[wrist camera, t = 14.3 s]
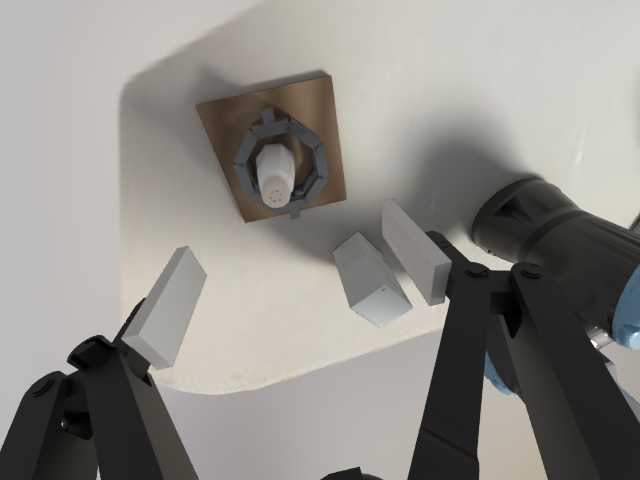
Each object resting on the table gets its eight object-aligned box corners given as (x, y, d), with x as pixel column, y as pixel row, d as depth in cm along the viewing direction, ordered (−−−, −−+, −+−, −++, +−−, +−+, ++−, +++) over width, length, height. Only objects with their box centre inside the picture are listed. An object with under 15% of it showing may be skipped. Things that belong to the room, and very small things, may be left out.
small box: (331, 252, 43) (348, 308, 32) (357, 230, 41) (385, 282, 31) (357, 273, 47) (380, 329, 37) (382, 254, 45) (415, 307, 35)
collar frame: (310, 96, 28) (316, 99, 24) (327, 194, 35) (333, 209, 31) (224, 115, 28) (215, 121, 24) (259, 209, 35) (257, 226, 31)
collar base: (329, 75, 28) (331, 75, 27) (345, 196, 37) (346, 199, 36) (197, 104, 28) (195, 105, 27) (246, 219, 37) (245, 222, 36)
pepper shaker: (259, 135, 30) (252, 160, 21) (301, 149, 31) (310, 177, 22) (252, 176, 32) (242, 213, 23) (290, 186, 34) (295, 225, 25)
